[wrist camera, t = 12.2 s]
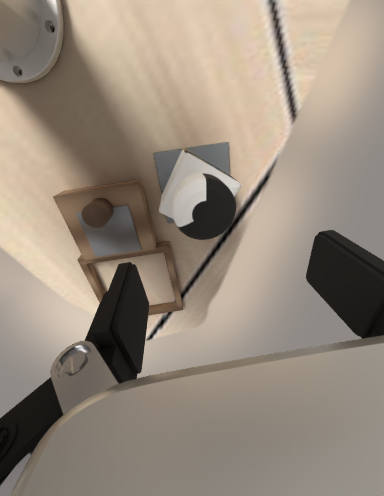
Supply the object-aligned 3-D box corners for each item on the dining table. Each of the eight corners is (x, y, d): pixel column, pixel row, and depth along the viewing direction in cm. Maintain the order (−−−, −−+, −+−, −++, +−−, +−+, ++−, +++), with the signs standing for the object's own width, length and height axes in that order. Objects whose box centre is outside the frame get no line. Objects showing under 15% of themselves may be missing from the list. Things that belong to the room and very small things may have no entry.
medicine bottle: (227, 173, 28) (259, 197, 17) (203, 216, 31) (218, 257, 20) (183, 147, 26) (189, 156, 15) (161, 195, 29) (153, 230, 18)
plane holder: (50, 192, 28) (21, 206, 23) (155, 176, 28) (150, 186, 23) (111, 315, 41) (102, 341, 35) (182, 304, 41) (183, 329, 35)
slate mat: (153, 153, 26) (153, 153, 26) (227, 141, 26) (228, 142, 26) (168, 221, 31) (168, 223, 31) (229, 212, 31) (230, 213, 31)
